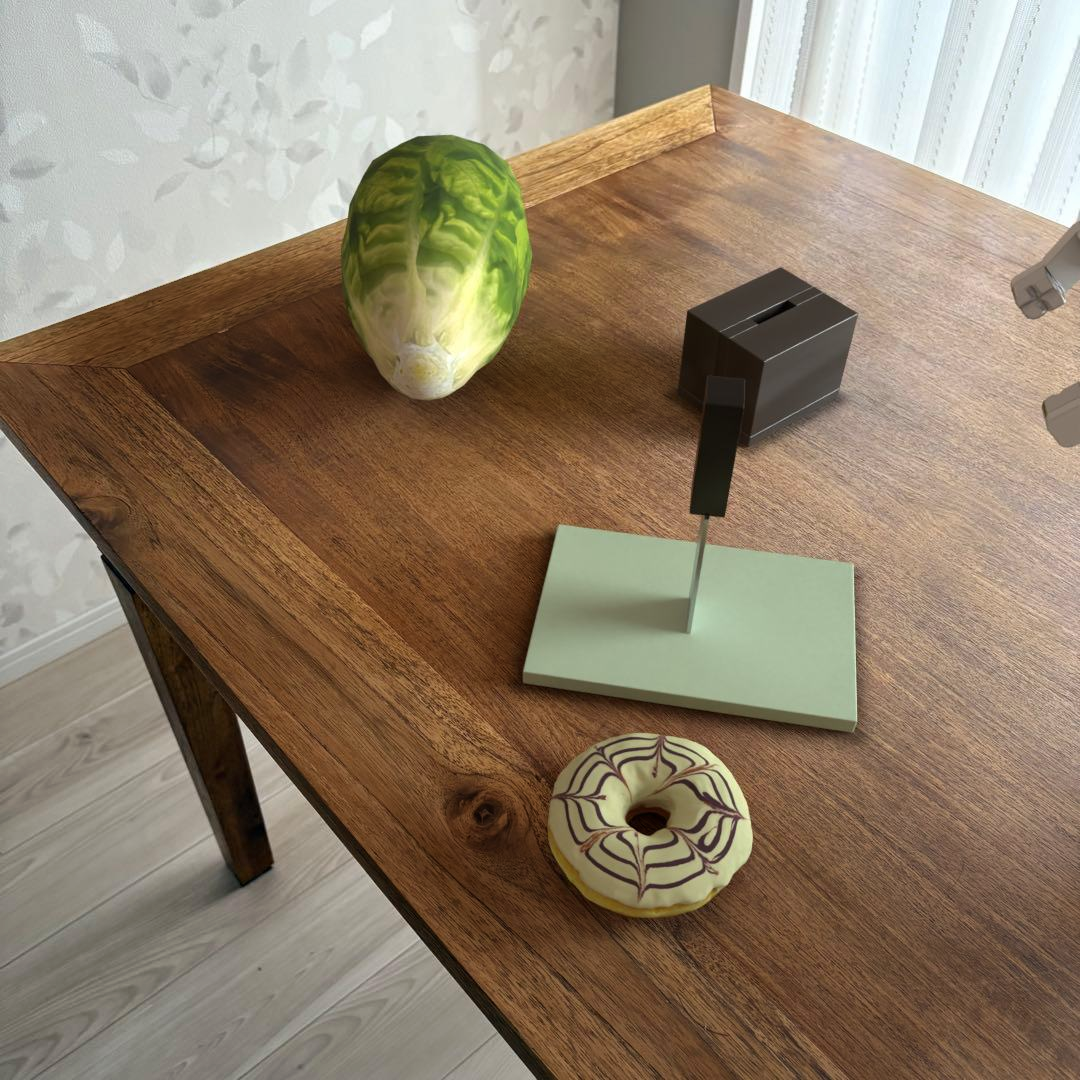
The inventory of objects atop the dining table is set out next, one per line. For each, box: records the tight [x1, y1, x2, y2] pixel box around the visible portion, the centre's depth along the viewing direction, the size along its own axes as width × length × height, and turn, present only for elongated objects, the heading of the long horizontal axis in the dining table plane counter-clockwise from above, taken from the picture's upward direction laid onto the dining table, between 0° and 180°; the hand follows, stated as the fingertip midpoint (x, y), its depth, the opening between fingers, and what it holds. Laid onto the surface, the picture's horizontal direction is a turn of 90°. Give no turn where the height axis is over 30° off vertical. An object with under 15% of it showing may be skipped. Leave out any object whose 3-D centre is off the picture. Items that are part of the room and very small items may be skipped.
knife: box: [686, 376, 745, 634], centre depth 64 cm, size 2×3×18 cm, turn 172°
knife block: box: [676, 266, 859, 448], centre depth 86 cm, size 8×10×8 cm
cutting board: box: [522, 523, 858, 733], centre depth 71 cm, size 20×13×1 cm, turn 80°
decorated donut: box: [547, 732, 754, 919], centre depth 59 cm, size 10×11×4 cm
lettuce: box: [340, 134, 533, 402], centre depth 87 cm, size 15×27×16 cm, turn 0°
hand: (1033, 360), depth 49 cm, fingers open, 8 cm apart
